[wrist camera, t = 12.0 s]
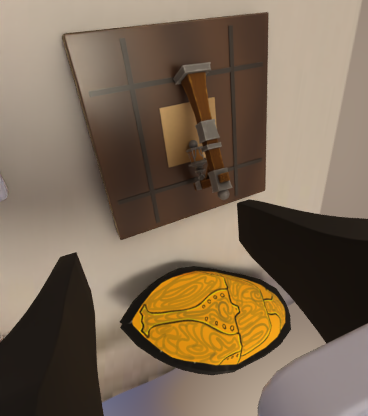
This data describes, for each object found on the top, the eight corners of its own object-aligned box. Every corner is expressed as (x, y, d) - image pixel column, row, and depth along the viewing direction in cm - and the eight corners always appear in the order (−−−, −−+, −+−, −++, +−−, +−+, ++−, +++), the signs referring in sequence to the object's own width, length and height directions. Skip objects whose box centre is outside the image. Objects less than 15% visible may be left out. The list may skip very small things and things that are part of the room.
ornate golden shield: (126, 394, 18) (112, 397, 22) (323, 353, 24) (282, 361, 29) (118, 264, 22) (107, 288, 27) (286, 258, 29) (255, 279, 33)
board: (117, 232, 22) (121, 241, 21) (61, 36, 16) (62, 33, 14) (257, 186, 26) (266, 191, 25) (257, 14, 20) (270, 11, 18)
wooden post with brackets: (190, 204, 21) (218, 203, 17) (161, 93, 20) (183, 63, 16) (211, 197, 21) (244, 195, 17) (185, 90, 21) (212, 60, 16)
